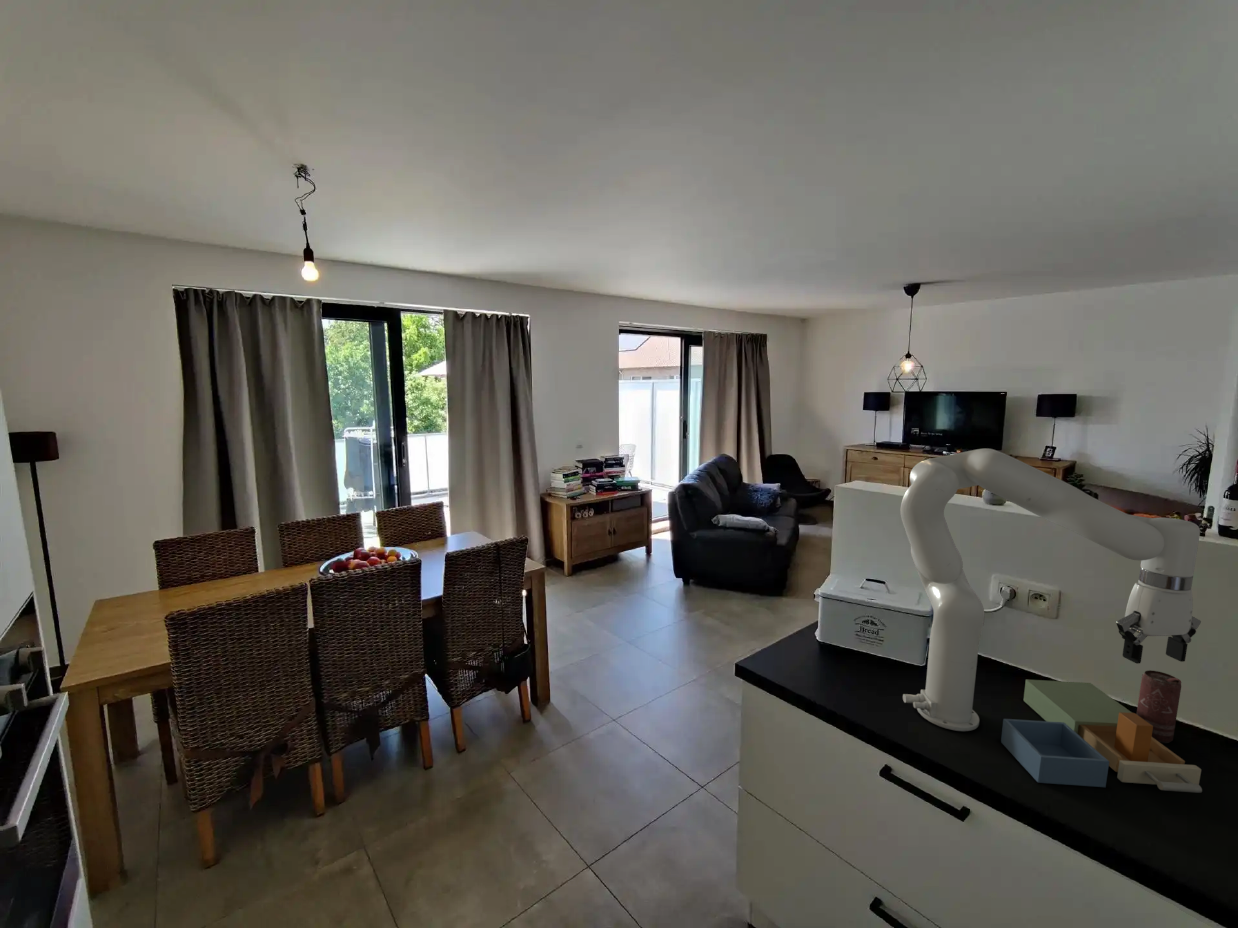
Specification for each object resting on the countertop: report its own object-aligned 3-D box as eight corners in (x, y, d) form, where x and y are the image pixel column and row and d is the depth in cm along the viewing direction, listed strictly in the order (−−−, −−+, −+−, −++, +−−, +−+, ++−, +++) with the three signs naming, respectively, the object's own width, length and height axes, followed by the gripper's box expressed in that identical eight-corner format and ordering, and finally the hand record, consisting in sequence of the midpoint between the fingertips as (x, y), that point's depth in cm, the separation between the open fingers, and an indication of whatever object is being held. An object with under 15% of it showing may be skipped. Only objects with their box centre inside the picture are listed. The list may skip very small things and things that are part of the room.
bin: (1037, 782, 105) (1041, 756, 104) (1000, 741, 117) (1003, 718, 116) (1105, 787, 104) (1109, 761, 103) (1061, 745, 116) (1064, 722, 115)
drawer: (1221, 804, 98) (1224, 785, 98) (1140, 798, 100) (1143, 780, 99) (1130, 735, 118) (1133, 719, 117) (1064, 731, 119) (1066, 715, 119)
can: (1181, 745, 116) (1191, 685, 114) (1147, 742, 117) (1156, 682, 115) (1160, 728, 122) (1169, 670, 120) (1127, 725, 123) (1135, 667, 121)
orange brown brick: (1131, 761, 108) (1136, 725, 107) (1113, 747, 112) (1118, 711, 111) (1147, 762, 108) (1153, 726, 107) (1129, 748, 112) (1134, 712, 111)
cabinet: (1146, 749, 115) (1149, 725, 114) (1072, 744, 116) (1075, 720, 115) (1087, 704, 131) (1090, 682, 130) (1023, 700, 133) (1025, 679, 132)
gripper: (1183, 572, 113) (1172, 648, 115) (1106, 574, 112) (1096, 652, 114) (1226, 585, 105) (1212, 666, 108) (1144, 587, 104) (1132, 670, 107)
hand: (1153, 659), depth 111 cm, fingers open, 9 cm apart
